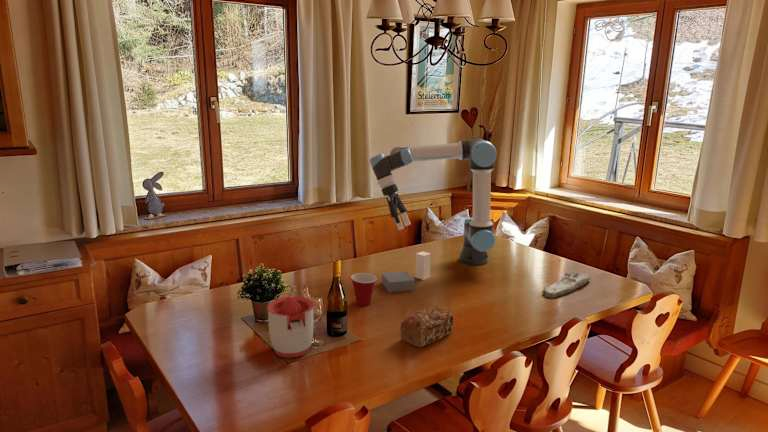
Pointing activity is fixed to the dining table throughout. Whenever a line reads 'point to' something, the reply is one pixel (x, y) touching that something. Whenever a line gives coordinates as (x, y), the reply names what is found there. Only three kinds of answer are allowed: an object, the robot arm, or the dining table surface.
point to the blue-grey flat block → (398, 281)
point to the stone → (566, 284)
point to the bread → (426, 326)
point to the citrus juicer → (291, 325)
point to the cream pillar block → (423, 265)
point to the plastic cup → (363, 287)
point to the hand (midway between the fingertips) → (404, 227)
